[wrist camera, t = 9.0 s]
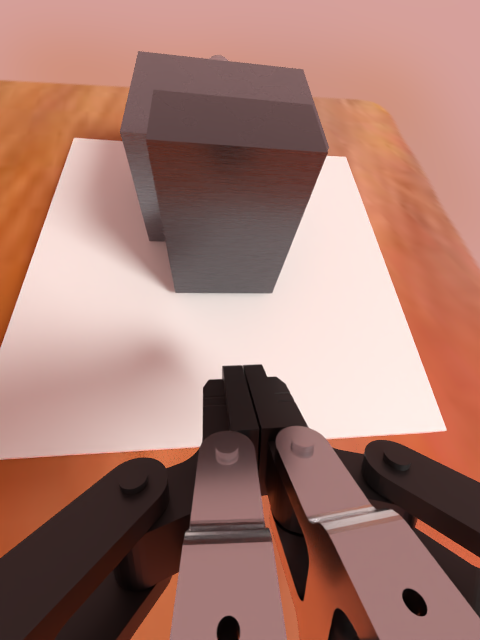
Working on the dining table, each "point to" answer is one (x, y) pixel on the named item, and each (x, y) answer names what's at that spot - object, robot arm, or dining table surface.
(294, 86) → the block
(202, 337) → the base board
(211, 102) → the shaft
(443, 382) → the dining table surface
